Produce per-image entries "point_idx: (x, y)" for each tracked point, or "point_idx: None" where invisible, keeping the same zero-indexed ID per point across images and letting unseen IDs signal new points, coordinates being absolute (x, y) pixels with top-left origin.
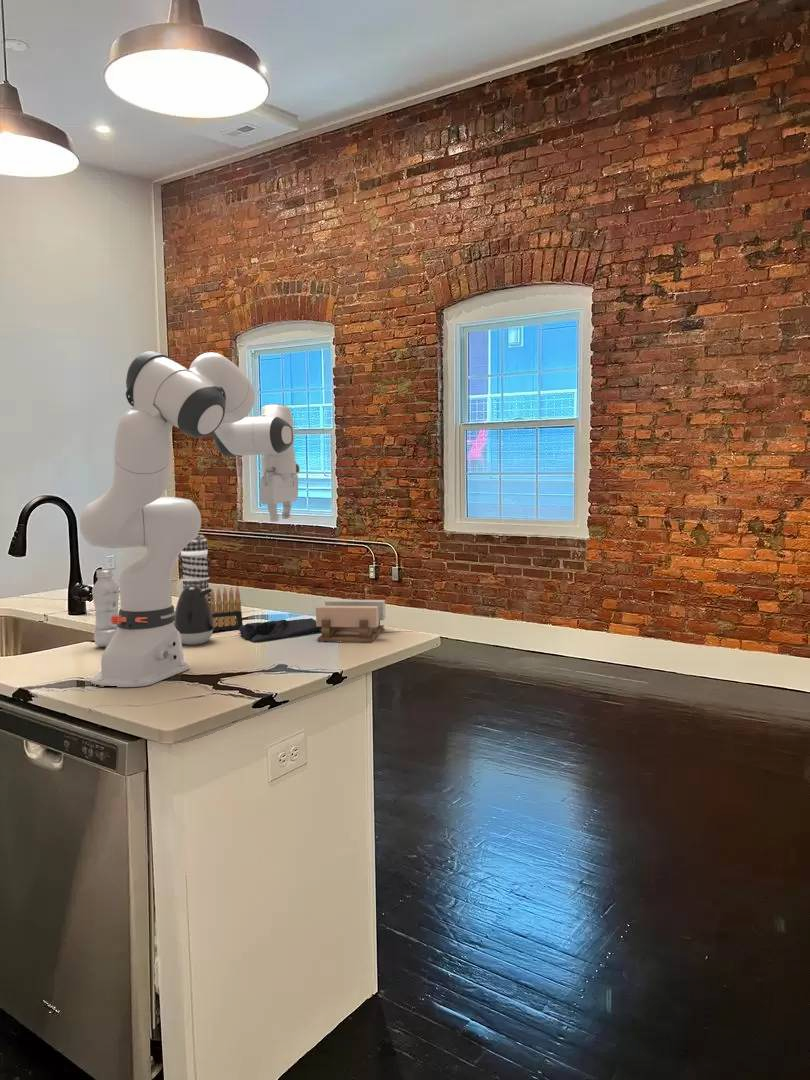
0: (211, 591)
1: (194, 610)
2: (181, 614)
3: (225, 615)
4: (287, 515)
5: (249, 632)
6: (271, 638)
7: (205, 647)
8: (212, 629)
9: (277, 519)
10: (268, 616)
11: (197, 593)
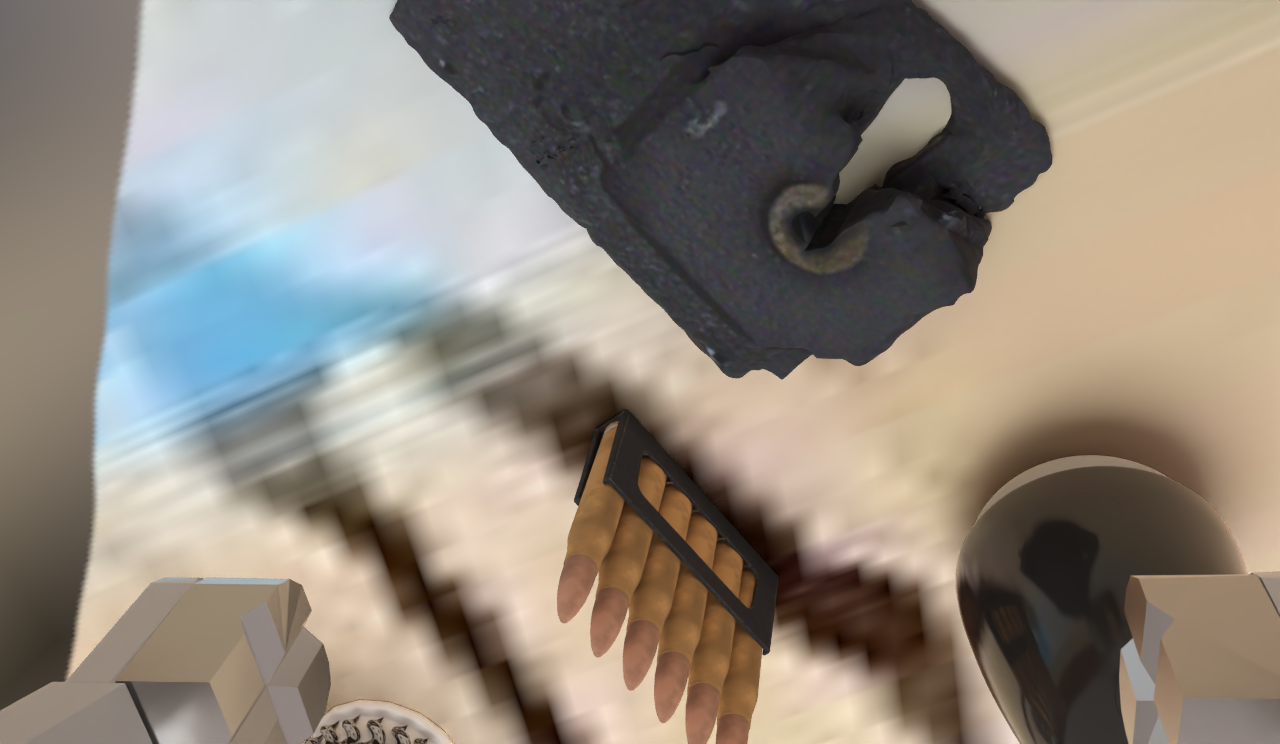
0: None
1: None
2: None
3: (685, 545)
4: (253, 640)
5: (970, 243)
6: (973, 58)
7: (1208, 413)
8: (1102, 466)
9: (1265, 587)
10: (234, 399)
11: None
